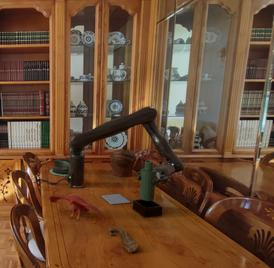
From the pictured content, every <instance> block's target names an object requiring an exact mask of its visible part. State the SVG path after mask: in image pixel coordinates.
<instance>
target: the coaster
mask: <svg viewBox="0 0 274 268" xmlns="http://www.w3.org/2000/svg"><path fill="white" fill-rule="evenodd" d="M101 197H102V198H103V199H104V200H105V201H106V202H108V203H109V204H110V205H111V206H112V205H123V204H131V201H130V200H129V199H128V198H126V197H125V196H124V195H122V194H120V193H116V194H115V193H114V194H103V195H101Z"/></svg>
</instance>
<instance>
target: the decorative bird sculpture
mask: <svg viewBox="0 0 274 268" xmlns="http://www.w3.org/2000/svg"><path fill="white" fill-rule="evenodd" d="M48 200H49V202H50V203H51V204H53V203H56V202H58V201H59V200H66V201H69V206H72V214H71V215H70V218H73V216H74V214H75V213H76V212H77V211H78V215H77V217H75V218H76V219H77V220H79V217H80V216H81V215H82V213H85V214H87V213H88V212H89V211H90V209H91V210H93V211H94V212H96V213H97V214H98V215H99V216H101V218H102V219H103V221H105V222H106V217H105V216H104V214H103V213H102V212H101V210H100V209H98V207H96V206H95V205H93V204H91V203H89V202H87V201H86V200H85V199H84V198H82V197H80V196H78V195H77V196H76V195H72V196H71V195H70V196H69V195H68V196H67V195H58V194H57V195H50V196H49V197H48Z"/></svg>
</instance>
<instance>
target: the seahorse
mask: <svg viewBox="0 0 274 268" xmlns="http://www.w3.org/2000/svg"><path fill="white" fill-rule="evenodd" d="M116 231H117V232H119V233H120V234H121V235H122V239H123V243H124V244H125V245H124V244H122V245H121V247H123V248H125V250H126V251H127V252H128V253H130V254H131V253H133V252H137V251H138V248H139V247H138V246H139V245H138V243H137V242H136V241H134V240H133V239H132V238H131V237H130V236H129V234H127V232H126V231H125V229H123V228H121V227H118V226H117V227H111V228H110V229H109V230H108V234H109V235H110V236H115V235H116Z"/></svg>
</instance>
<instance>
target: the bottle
mask: <svg viewBox="0 0 274 268" xmlns="http://www.w3.org/2000/svg"><path fill="white" fill-rule="evenodd" d="M153 168H154V161H153V160H144V167H142V168H141V169H140V171H141V180H140V184H139V185H140V186H139V199H142V200H145V201H154V200H155V192H156V191H155V189H156V184H155V185H153V184H152V181H153V179H155V178H156V170H154V169H153Z"/></svg>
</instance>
